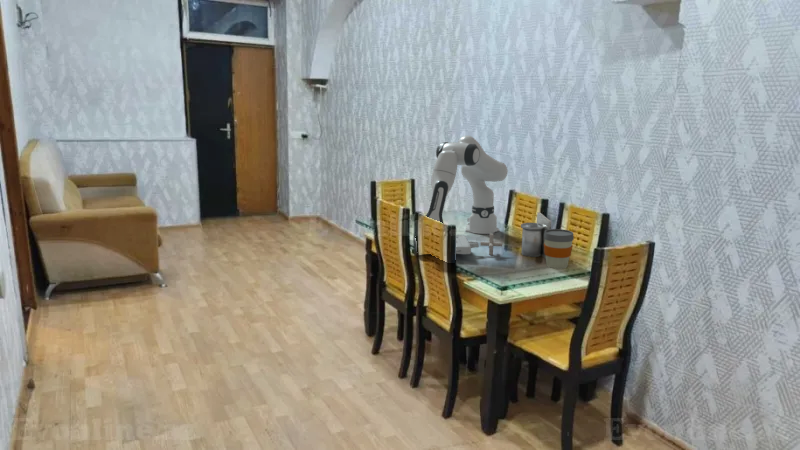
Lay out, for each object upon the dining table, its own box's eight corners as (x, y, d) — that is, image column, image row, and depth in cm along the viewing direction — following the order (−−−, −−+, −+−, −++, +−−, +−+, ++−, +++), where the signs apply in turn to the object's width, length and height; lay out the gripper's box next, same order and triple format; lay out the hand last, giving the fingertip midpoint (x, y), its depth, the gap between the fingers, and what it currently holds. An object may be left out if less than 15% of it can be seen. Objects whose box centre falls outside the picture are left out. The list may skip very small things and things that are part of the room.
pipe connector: (501, 258, 256) (502, 237, 254) (479, 257, 258) (480, 236, 256) (502, 252, 265) (502, 231, 263) (481, 251, 267) (481, 231, 265)
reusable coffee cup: (537, 262, 249) (538, 229, 245) (562, 260, 252) (564, 228, 248) (550, 270, 237) (552, 236, 233) (577, 268, 240) (579, 234, 236)
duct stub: (515, 248, 271) (517, 212, 267) (538, 248, 271) (539, 212, 267) (524, 260, 252) (526, 221, 248) (549, 260, 252) (551, 221, 248)
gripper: (450, 244, 250) (481, 244, 250) (446, 233, 270) (475, 232, 270) (450, 257, 251) (481, 257, 251) (446, 245, 271) (475, 245, 271)
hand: (478, 244), depth 261 cm, fingers closed
